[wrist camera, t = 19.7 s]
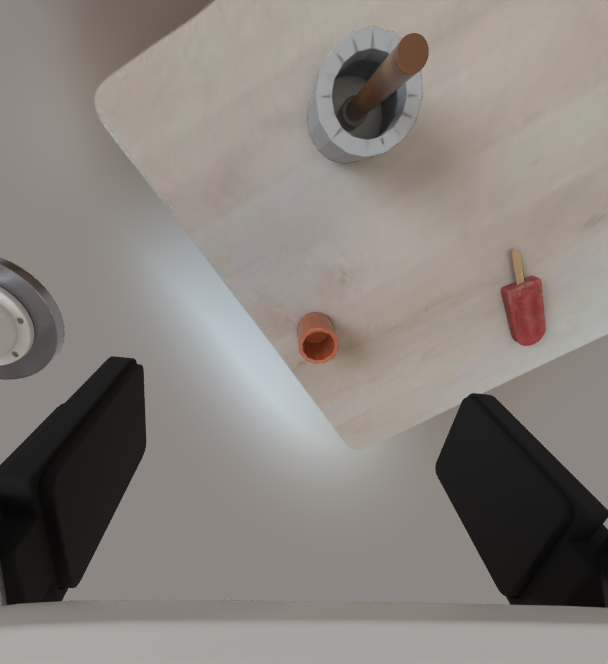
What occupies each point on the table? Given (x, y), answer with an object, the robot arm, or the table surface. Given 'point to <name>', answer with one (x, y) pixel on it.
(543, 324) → the popsicle
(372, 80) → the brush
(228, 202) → the table surface
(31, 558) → the robot arm
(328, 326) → the pen cup
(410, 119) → the grey hollow cylinder
